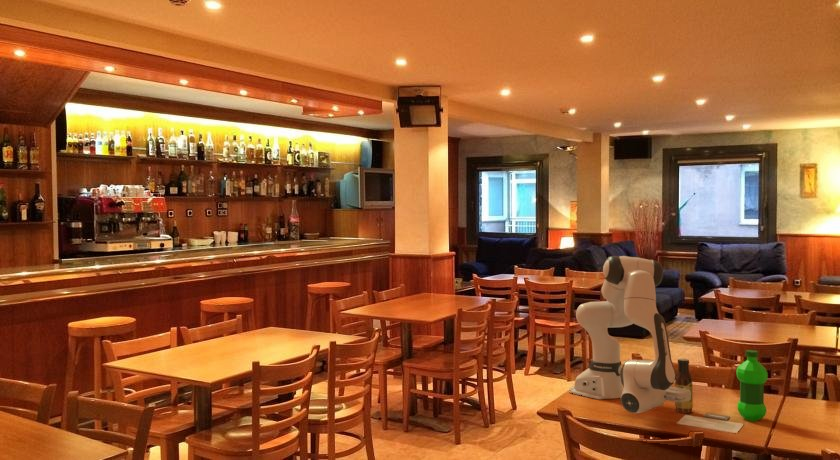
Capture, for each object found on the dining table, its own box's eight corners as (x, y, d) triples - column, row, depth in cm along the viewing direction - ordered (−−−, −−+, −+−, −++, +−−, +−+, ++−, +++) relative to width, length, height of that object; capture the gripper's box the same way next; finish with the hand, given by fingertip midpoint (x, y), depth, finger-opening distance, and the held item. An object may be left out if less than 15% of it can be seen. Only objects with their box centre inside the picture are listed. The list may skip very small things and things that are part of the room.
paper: (676, 423, 249) (676, 422, 249) (685, 415, 258) (685, 414, 258) (736, 433, 237) (736, 432, 237) (743, 424, 247) (743, 423, 247)
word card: (703, 417, 256) (703, 416, 256) (706, 413, 260) (706, 412, 260) (726, 420, 251) (726, 419, 251) (729, 417, 256) (729, 416, 255)
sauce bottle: (694, 414, 260) (694, 361, 259) (676, 413, 261) (676, 361, 260) (690, 409, 266) (690, 358, 266) (673, 408, 267) (673, 357, 267)
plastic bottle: (772, 423, 248) (773, 353, 248) (743, 423, 249) (743, 354, 248) (759, 414, 258) (759, 348, 258) (731, 414, 259) (731, 348, 258)
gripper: (680, 391, 240) (699, 383, 250) (627, 380, 255) (647, 374, 265) (680, 409, 241) (699, 401, 250) (627, 397, 256) (647, 390, 265)
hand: (672, 387), depth 257 cm, fingers open, 8 cm apart
